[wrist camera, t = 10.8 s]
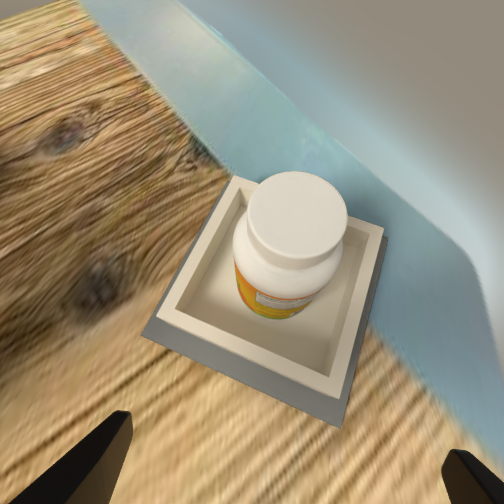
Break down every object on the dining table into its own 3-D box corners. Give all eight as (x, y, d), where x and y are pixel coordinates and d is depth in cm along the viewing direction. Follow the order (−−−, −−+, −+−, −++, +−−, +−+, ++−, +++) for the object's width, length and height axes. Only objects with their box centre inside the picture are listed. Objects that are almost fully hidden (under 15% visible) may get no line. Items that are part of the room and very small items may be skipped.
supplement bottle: (242, 244, 21) (239, 149, 12) (314, 253, 21) (365, 164, 12) (231, 315, 19) (216, 265, 10) (310, 326, 19) (369, 285, 10)
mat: (338, 427, 17) (340, 428, 17) (143, 336, 19) (140, 335, 19) (385, 240, 22) (388, 237, 22) (228, 184, 24) (227, 180, 24)
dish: (325, 394, 18) (339, 399, 15) (169, 324, 19) (155, 316, 16) (366, 246, 22) (384, 228, 19) (235, 198, 23) (233, 175, 21)
